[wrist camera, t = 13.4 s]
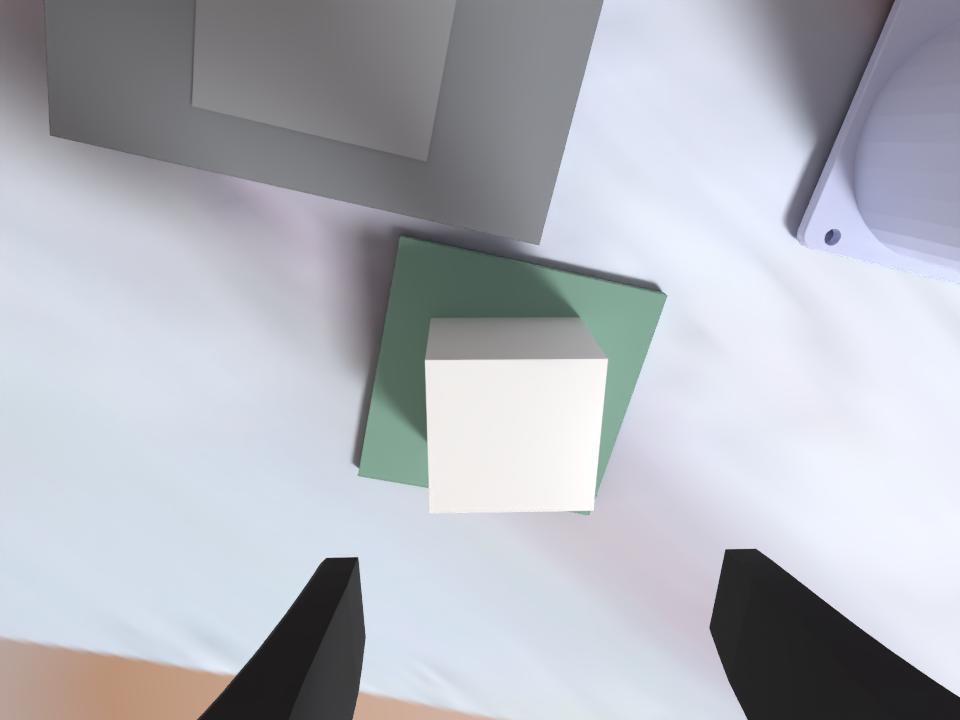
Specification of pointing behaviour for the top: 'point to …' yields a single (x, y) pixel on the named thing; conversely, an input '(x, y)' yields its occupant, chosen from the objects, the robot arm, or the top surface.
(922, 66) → the robot arm
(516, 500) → the white square block
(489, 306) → the mat
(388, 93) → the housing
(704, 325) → the top surface
